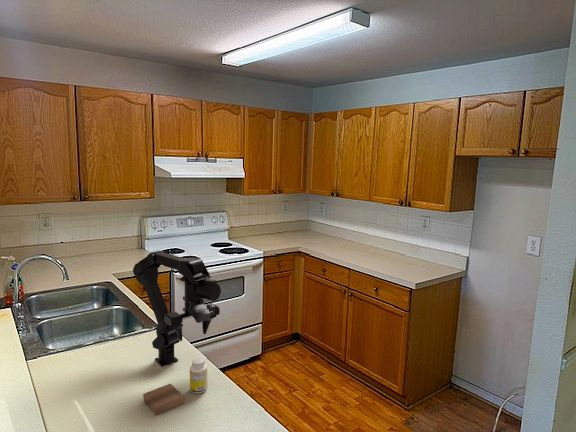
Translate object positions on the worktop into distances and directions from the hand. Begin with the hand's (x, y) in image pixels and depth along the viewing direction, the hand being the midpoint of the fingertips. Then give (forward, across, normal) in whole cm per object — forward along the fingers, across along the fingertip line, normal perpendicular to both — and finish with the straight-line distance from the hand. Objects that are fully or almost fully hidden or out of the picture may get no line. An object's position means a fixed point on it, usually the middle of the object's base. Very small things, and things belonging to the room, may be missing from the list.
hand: (192, 337), depth 140 cm
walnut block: (+14, -16, -11) cm, 23 cm away
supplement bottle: (+13, -4, -11) cm, 18 cm away
